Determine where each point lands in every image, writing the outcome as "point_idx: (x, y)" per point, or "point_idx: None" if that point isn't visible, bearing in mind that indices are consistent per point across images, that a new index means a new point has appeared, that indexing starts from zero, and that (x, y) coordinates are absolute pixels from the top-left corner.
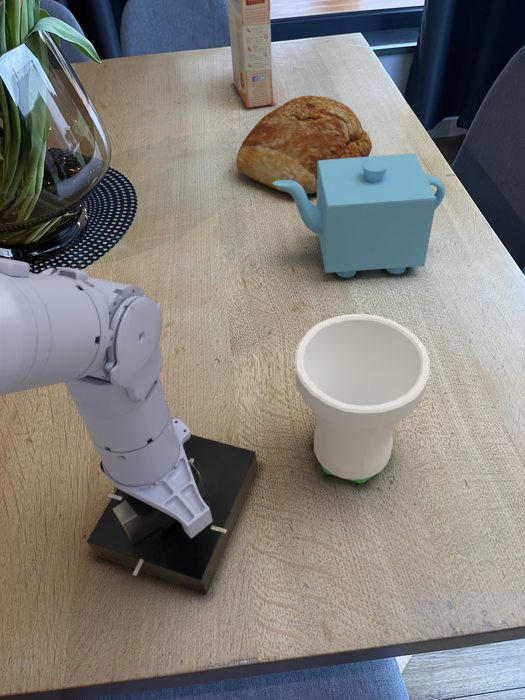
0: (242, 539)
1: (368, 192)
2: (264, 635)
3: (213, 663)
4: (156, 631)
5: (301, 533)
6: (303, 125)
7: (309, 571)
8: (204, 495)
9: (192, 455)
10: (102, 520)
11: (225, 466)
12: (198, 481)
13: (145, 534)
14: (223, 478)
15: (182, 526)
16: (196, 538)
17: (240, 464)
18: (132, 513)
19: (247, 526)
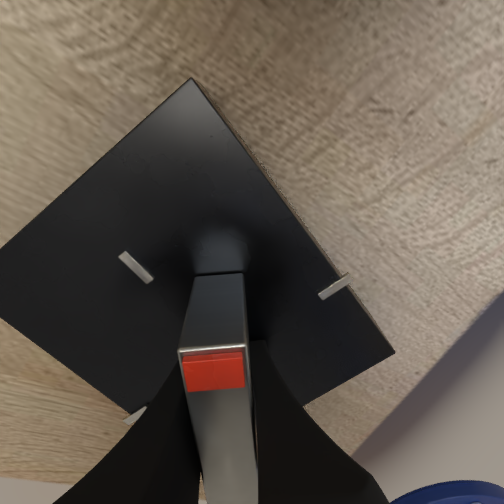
0: (332, 216)
1: None
2: (486, 269)
3: (452, 343)
4: (360, 384)
5: (410, 98)
6: None
7: (479, 138)
8: (243, 279)
9: (110, 247)
10: None
11: (189, 188)
12: (376, 482)
13: (254, 405)
14: (221, 212)
15: (277, 340)
16: (318, 328)
17: (208, 148)
18: (251, 500)
19: (316, 193)
